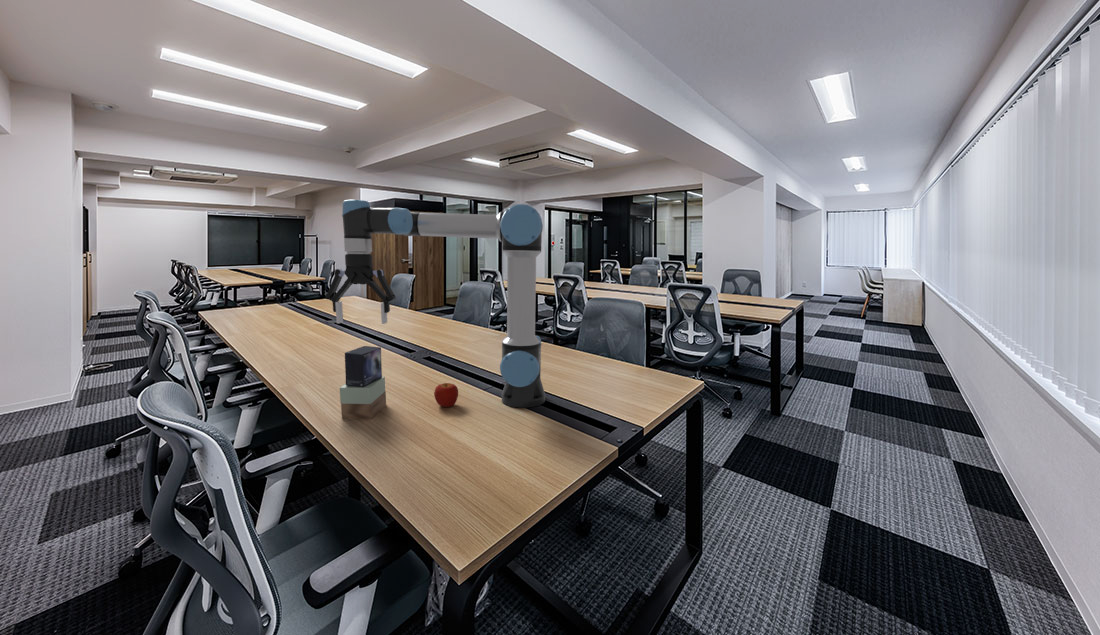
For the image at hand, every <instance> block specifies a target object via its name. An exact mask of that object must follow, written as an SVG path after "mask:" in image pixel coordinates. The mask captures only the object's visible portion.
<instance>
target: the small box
mask: <svg viewBox="0 0 1100 635" xmlns="http://www.w3.org/2000/svg"><path fill="white" fill-rule="evenodd" d="M382 370H383V368H382V347H380V346H368V345H363V346H359V347H357V348H354V349H352V350H351V349H350V350H348V351H346V352H344V371H345V372H344V373H345V384H346V386H356V387H365V386H367V385H369V384H371V383H373V382H375V381H377V380H379V379H381V378H382V377H383V371H382Z"/></svg>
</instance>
